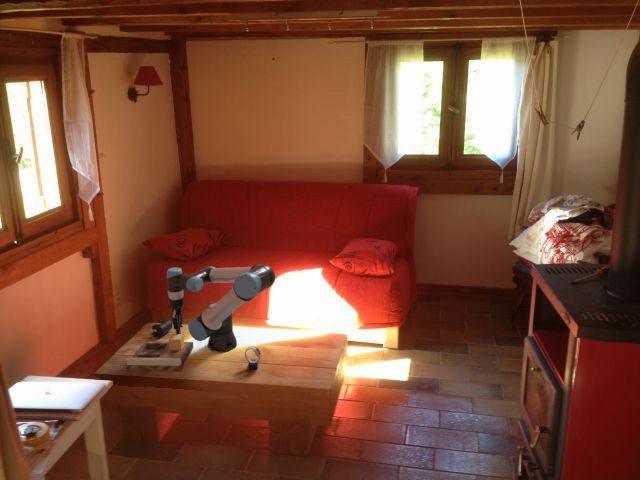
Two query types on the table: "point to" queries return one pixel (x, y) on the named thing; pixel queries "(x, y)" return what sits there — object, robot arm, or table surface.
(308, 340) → the table surface
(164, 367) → the board
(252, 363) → the watch
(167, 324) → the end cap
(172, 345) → the block
